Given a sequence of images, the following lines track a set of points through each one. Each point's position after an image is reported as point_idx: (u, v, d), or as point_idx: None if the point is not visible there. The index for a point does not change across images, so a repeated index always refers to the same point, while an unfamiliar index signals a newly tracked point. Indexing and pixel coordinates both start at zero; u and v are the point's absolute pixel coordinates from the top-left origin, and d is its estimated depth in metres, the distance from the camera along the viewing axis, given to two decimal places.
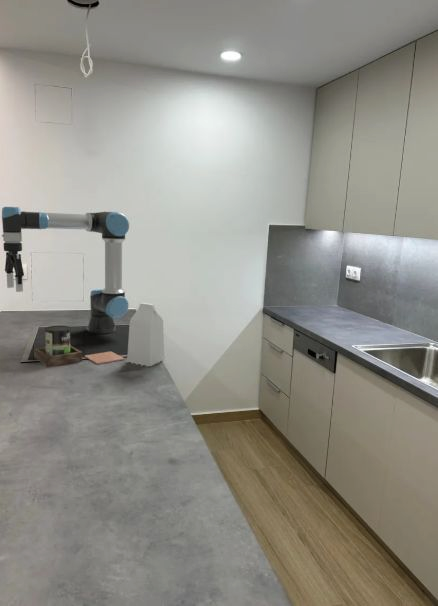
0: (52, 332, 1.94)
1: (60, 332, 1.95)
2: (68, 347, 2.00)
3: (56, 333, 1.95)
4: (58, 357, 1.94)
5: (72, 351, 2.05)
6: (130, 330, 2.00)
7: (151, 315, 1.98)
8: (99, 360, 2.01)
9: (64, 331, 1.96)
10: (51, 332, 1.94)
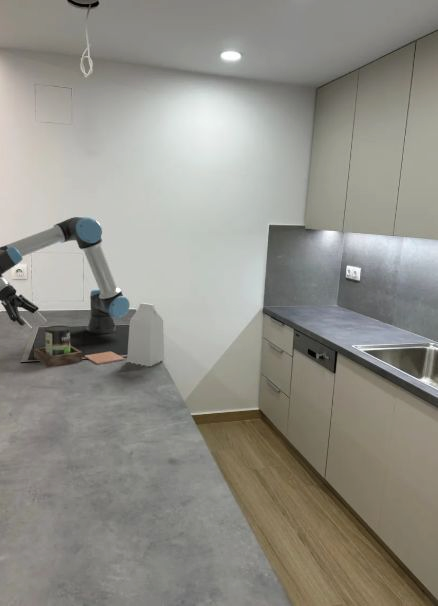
0: (52, 332, 1.94)
1: (60, 332, 1.95)
2: (68, 347, 2.00)
3: (56, 333, 1.95)
4: (58, 357, 1.94)
5: (72, 351, 2.05)
6: (130, 330, 2.00)
7: (151, 315, 1.98)
8: (99, 360, 2.01)
9: (64, 331, 1.96)
10: (51, 332, 1.94)
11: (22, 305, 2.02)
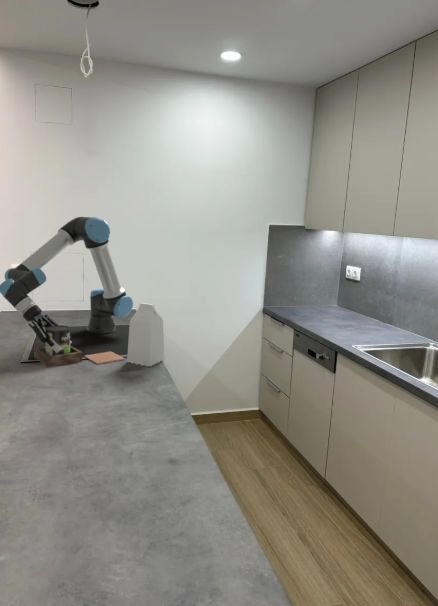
0: (52, 332, 1.94)
1: (60, 332, 1.95)
2: (68, 347, 2.00)
3: (56, 333, 1.95)
4: (58, 357, 1.94)
5: (72, 351, 2.05)
6: (130, 330, 2.00)
7: (151, 315, 1.98)
8: (99, 360, 2.01)
9: (64, 331, 1.96)
10: (51, 332, 1.94)
11: (47, 325, 2.02)
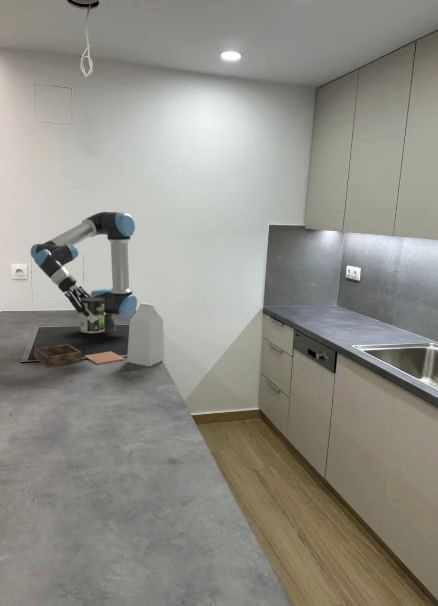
0: (87, 302, 1.95)
1: (95, 302, 1.95)
2: (102, 318, 2.00)
3: (91, 303, 1.95)
4: (58, 357, 1.94)
5: (72, 351, 2.05)
6: (130, 330, 2.00)
7: (151, 315, 1.98)
8: (99, 360, 2.01)
9: (99, 301, 1.96)
10: (86, 302, 1.95)
11: (81, 296, 2.02)
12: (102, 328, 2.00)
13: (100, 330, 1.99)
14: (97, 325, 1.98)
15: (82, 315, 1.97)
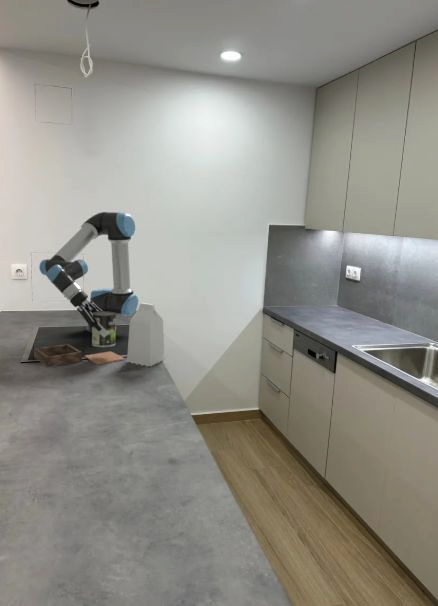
0: (99, 317, 1.97)
1: (107, 317, 1.98)
2: (114, 332, 2.03)
3: (103, 317, 1.98)
4: (58, 357, 1.94)
5: (72, 351, 2.05)
6: (130, 330, 2.00)
7: (151, 315, 1.98)
8: (99, 360, 2.01)
9: (111, 316, 1.99)
10: (98, 317, 1.97)
11: (93, 311, 2.05)
12: (113, 342, 2.03)
13: (112, 344, 2.02)
14: (109, 339, 2.00)
15: (94, 329, 1.99)
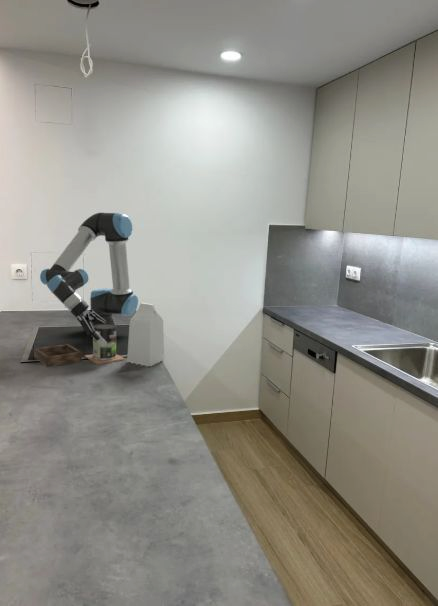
0: (100, 330, 1.99)
1: (108, 330, 2.00)
2: (115, 345, 2.04)
3: (104, 331, 1.99)
4: (58, 357, 1.94)
5: (72, 351, 2.05)
6: (130, 330, 2.00)
7: (151, 315, 1.98)
8: (99, 360, 2.01)
9: (111, 329, 2.01)
10: (99, 330, 1.99)
11: (93, 320, 2.07)
12: (114, 355, 2.05)
13: (112, 357, 2.04)
14: (110, 352, 2.02)
15: (95, 342, 2.01)
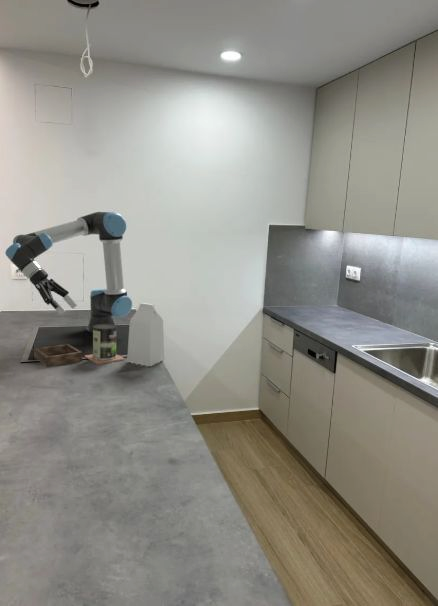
0: (100, 330, 1.99)
1: (108, 330, 2.00)
2: (115, 345, 2.04)
3: (104, 331, 1.99)
4: (58, 357, 1.94)
5: (72, 351, 2.05)
6: (130, 330, 2.00)
7: (151, 315, 1.98)
8: (99, 360, 2.01)
9: (112, 329, 2.01)
10: (99, 330, 1.99)
11: (53, 289, 2.06)
12: (114, 355, 2.05)
13: (112, 357, 2.04)
14: (110, 352, 2.02)
15: (95, 342, 2.01)
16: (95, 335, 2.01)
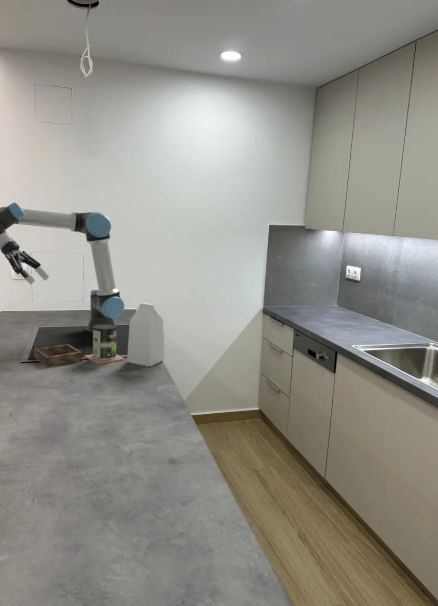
0: (100, 330, 1.99)
1: (108, 330, 2.00)
2: (115, 345, 2.04)
3: (104, 331, 1.99)
4: (58, 357, 1.94)
5: (72, 351, 2.05)
6: (130, 330, 2.00)
7: (151, 315, 1.98)
8: (99, 360, 2.01)
9: (112, 329, 2.01)
10: (99, 330, 1.99)
11: (25, 260, 2.10)
12: (114, 355, 2.05)
13: (112, 357, 2.04)
14: (110, 352, 2.02)
15: (95, 342, 2.01)
16: (95, 335, 2.01)
